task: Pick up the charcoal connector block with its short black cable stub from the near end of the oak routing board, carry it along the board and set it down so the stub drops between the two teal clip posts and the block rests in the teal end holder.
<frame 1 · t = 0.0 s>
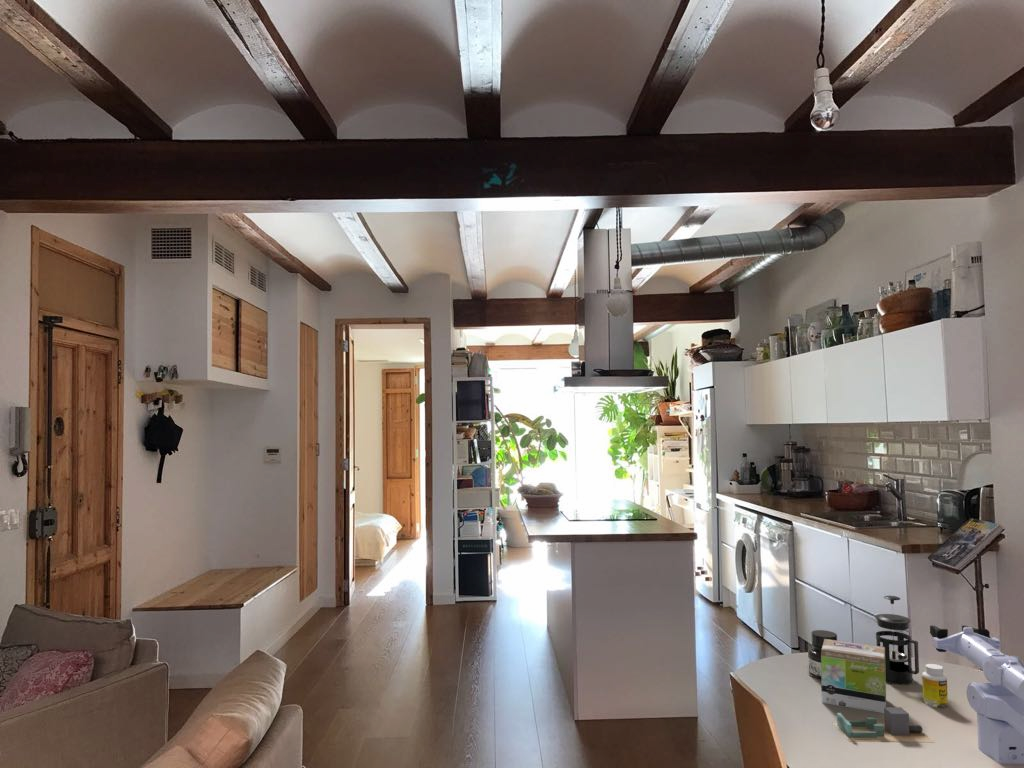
hand: (947, 629, 180), 22 cm above the table, tool horizontal, fingers open, 7 cm apart
supplement bottle: (935, 707, 186), on the table
tea box: (854, 705, 188), on the table
route board: (881, 735, 170), on the table
french press: (896, 679, 205), on the table
connector: (897, 732, 170), point 1 cm above the table, touching route board
black pill bottle: (825, 676, 208), on the table
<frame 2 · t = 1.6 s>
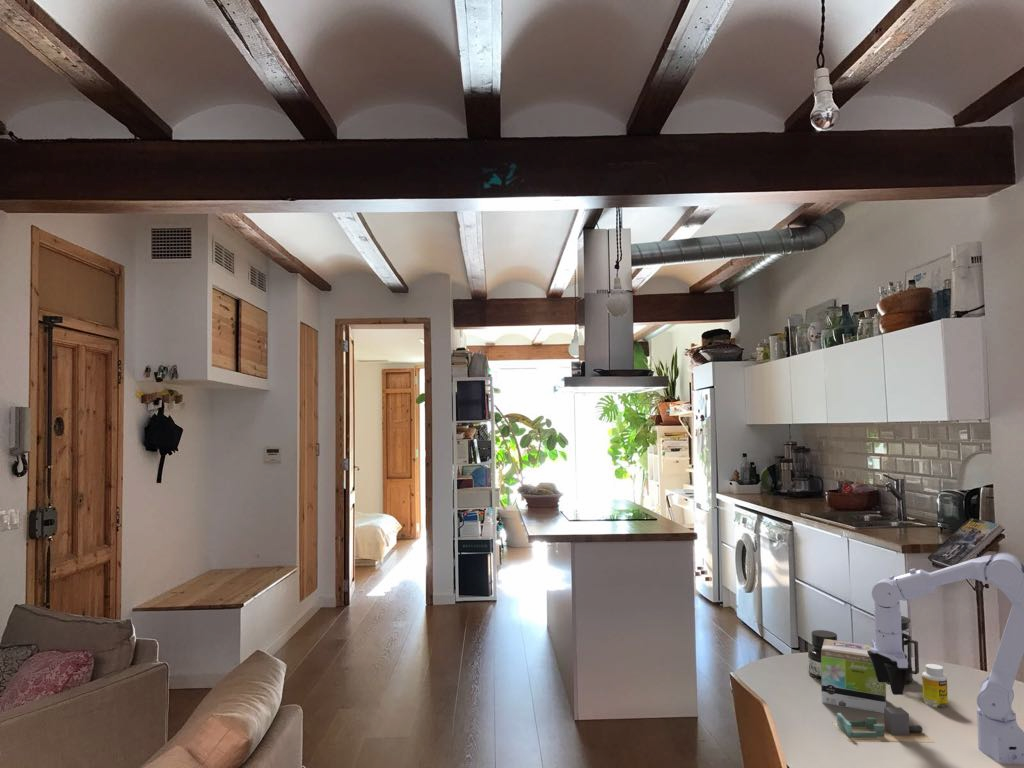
hand: (889, 687, 173), 10 cm above the table, tool pointing down, fingers open, 7 cm apart
nothing on the table moved.
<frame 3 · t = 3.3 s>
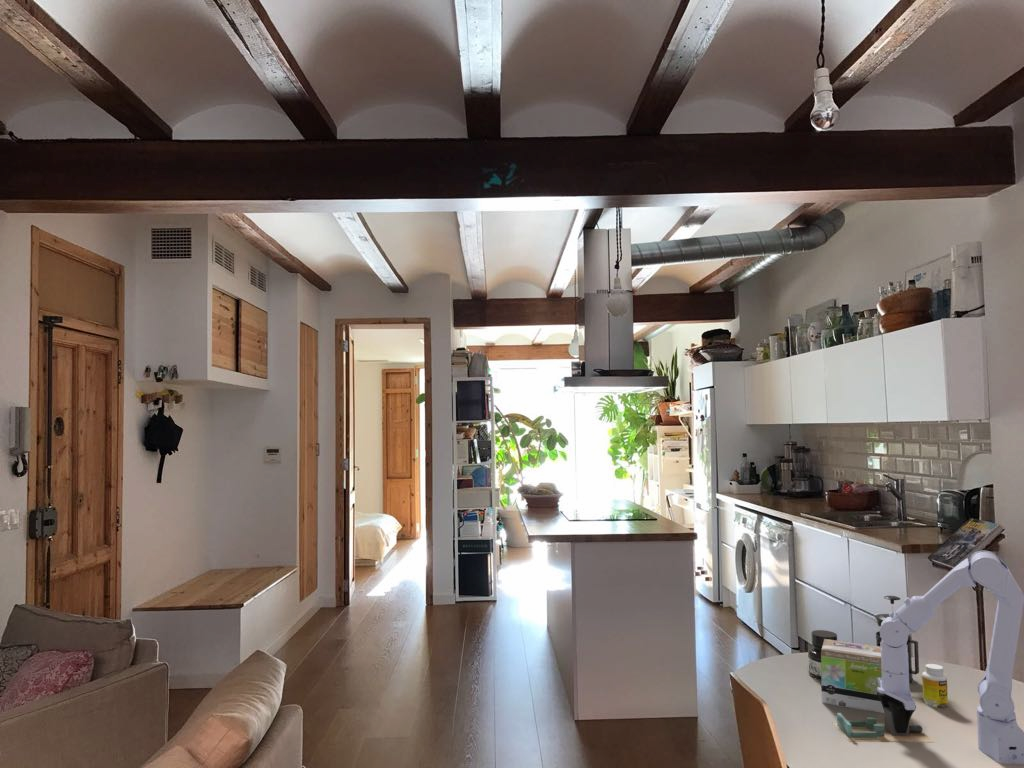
hand: (896, 728, 170), 2 cm above the table, tool pointing down, fingers closed on connector, 4 cm apart
connector: (897, 732, 170), point 1 cm above the table, touching gripper, route board
everything else where it was.
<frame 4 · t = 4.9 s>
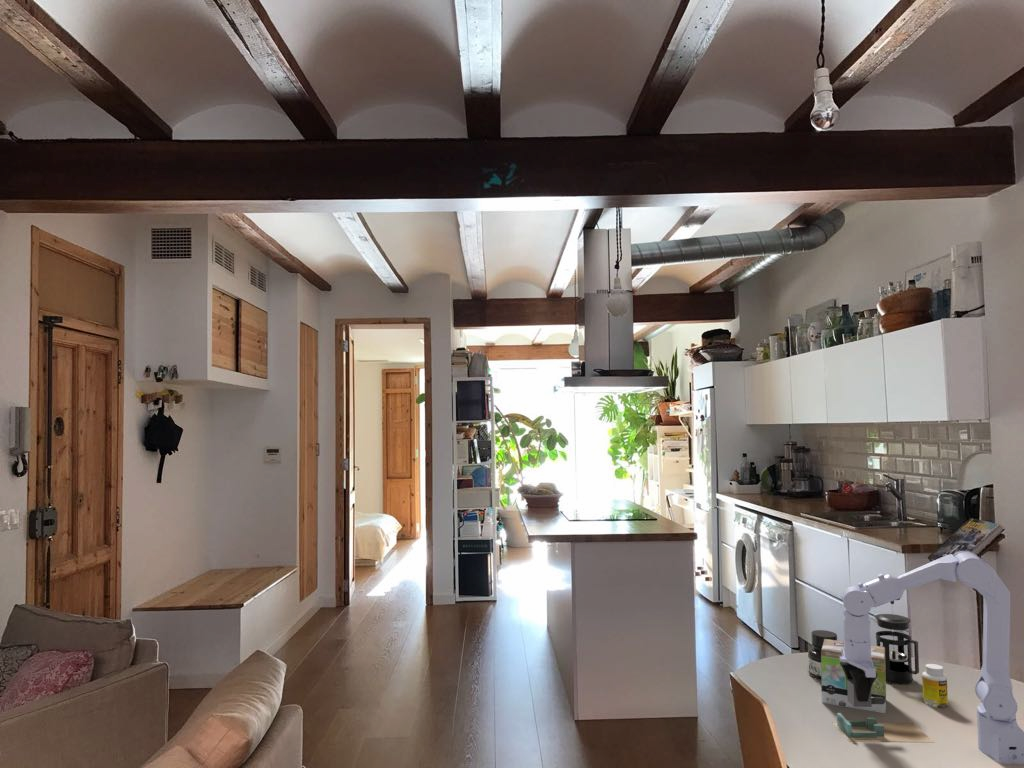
hand: (858, 697, 171), 9 cm above the table, tool pointing down, fingers closed on connector, 4 cm apart
connector: (859, 703, 171), point 7 cm above the table, touching gripper
everything else where it was.
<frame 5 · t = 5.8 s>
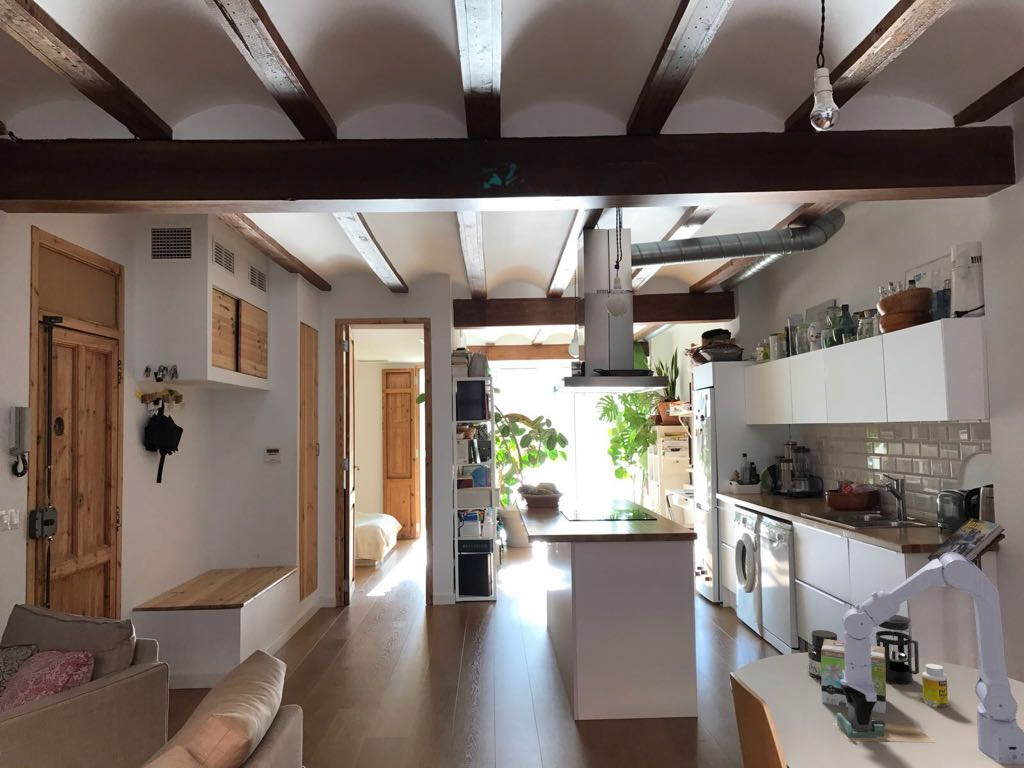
hand: (859, 720, 171), 3 cm above the table, tool pointing down, fingers closed on connector, 4 cm apart
connector: (860, 726, 170), point 2 cm above the table, touching gripper
everything else where it was.
when the fingers open (3 cm above the table, at t = 6.3 s): connector stays where it is, resting on route board.
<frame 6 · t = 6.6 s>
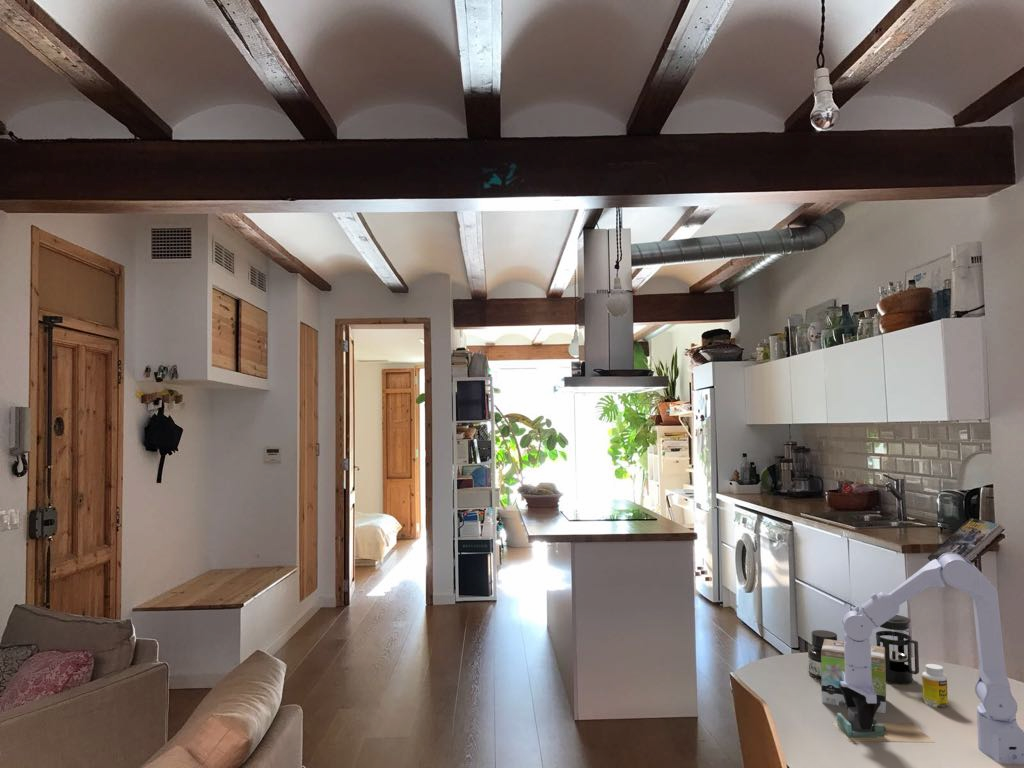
hand: (859, 722, 170), 3 cm above the table, tool pointing down, fingers open, 6 cm apart
connector: (860, 731, 170), point 1 cm above the table, touching route board
everything else where it was.
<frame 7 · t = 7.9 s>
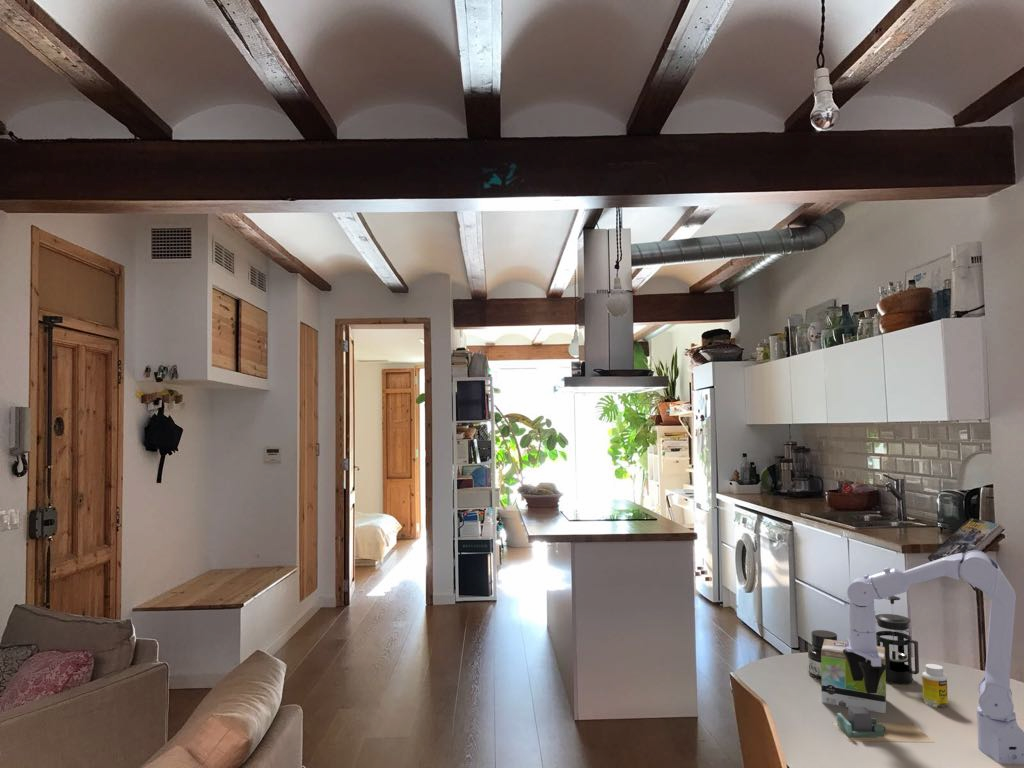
hand: (864, 686, 174), 10 cm above the table, tool pointing down, fingers open, 7 cm apart
nothing on the table moved.
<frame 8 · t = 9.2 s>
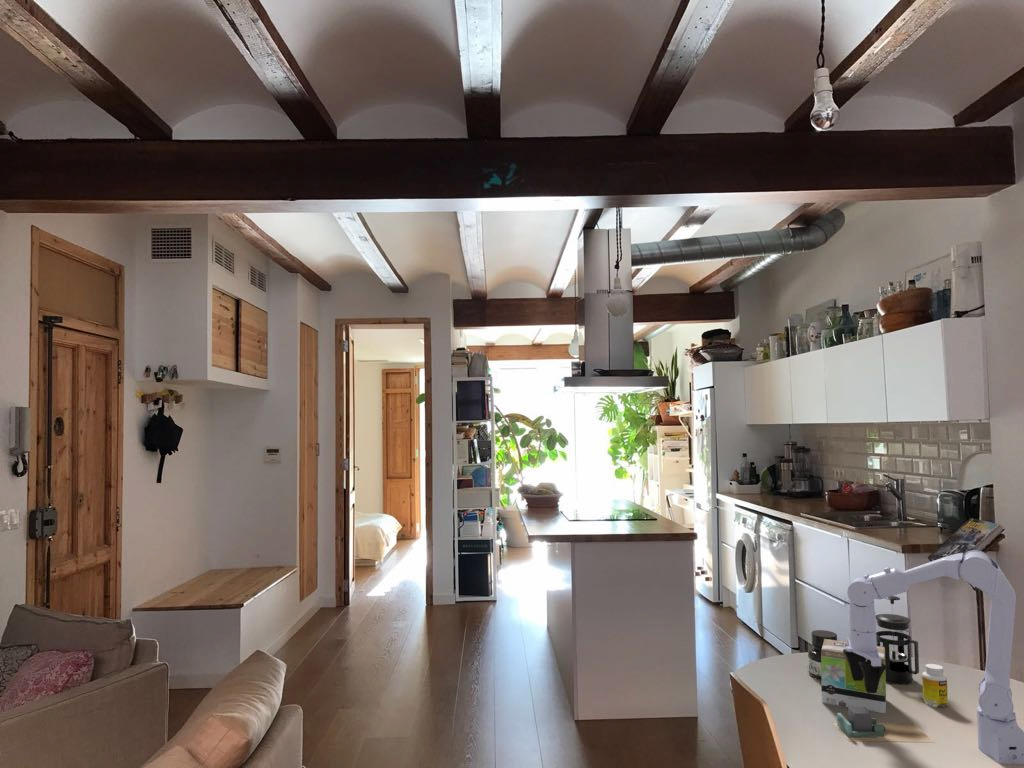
hand: (864, 686, 175), 10 cm above the table, tool pointing down, fingers open, 7 cm apart
nothing on the table moved.
at the end: connector 0.1 cm from the target spot on the route board, point 0.8 cm above the route board's base; connector tilted 0°; the gripper is holding nothing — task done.
